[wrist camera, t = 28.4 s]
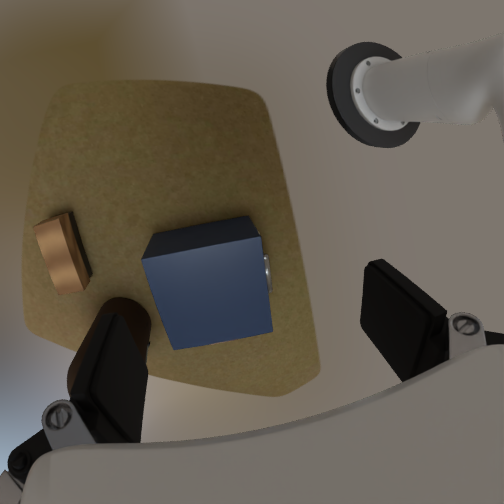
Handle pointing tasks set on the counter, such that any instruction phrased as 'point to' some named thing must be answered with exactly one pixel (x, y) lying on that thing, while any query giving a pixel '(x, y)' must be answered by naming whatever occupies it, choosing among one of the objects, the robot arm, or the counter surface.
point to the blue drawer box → (210, 282)
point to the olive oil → (136, 324)
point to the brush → (63, 253)
